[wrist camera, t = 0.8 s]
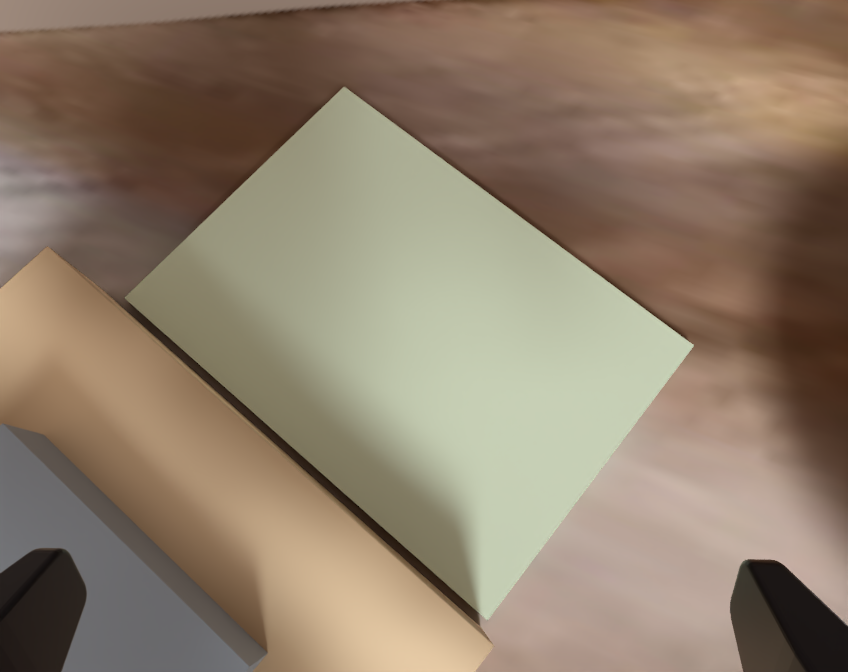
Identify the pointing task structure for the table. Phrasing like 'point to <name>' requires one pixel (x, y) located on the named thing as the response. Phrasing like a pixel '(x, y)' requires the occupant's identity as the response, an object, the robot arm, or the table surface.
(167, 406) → the wooden block
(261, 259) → the mat
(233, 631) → the grey bevelled block
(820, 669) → the robot arm
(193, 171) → the table surface
